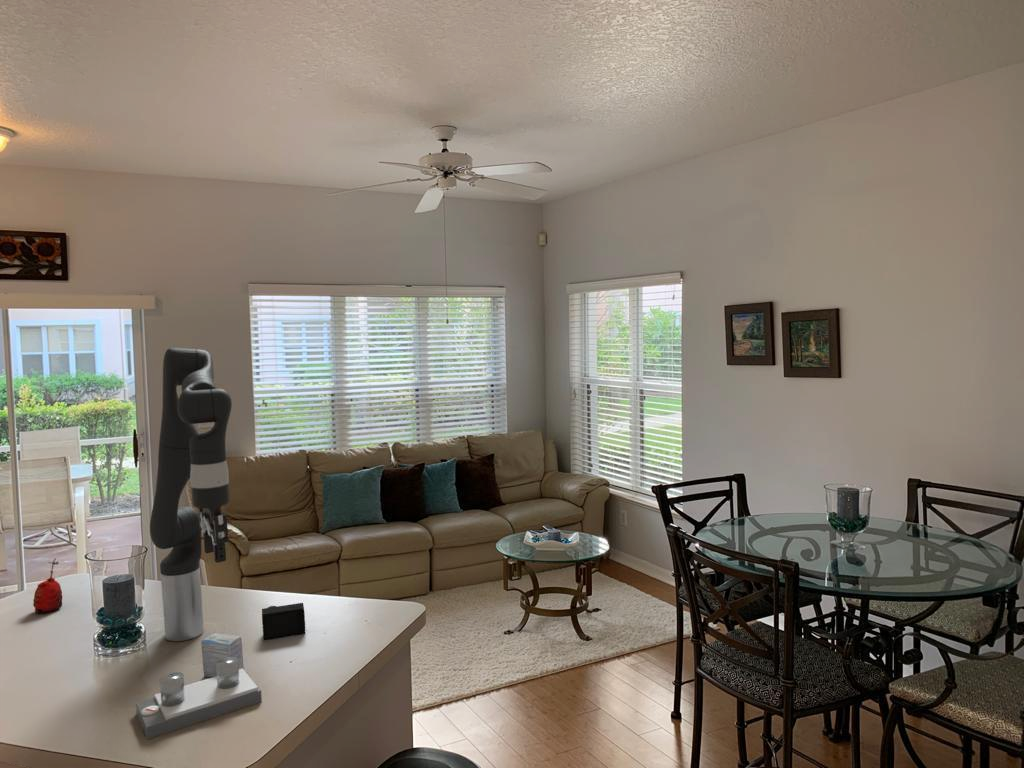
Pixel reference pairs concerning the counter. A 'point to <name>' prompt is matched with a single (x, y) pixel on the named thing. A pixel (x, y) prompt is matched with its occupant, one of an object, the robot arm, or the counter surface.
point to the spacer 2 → (227, 672)
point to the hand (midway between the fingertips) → (215, 556)
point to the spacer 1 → (172, 689)
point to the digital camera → (283, 621)
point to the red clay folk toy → (48, 595)
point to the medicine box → (220, 651)
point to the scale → (196, 705)
